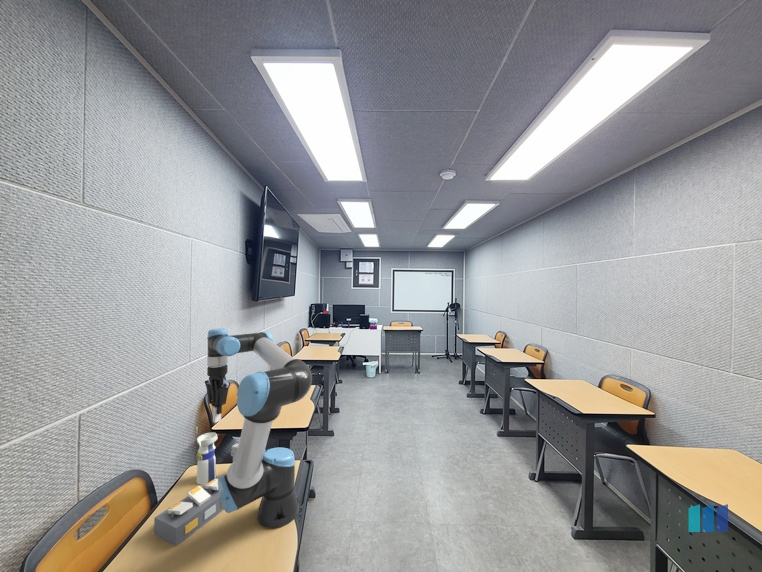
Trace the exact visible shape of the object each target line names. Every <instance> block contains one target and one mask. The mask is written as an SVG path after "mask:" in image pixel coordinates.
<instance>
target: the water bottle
mask: <svg viewBox="0 0 762 572" xmlns="http://www.w3.org/2000/svg"><path fill="white" fill-rule="evenodd" d="M198 431H199V429H198V426H196V427H195V433H196V434H198ZM217 440H218V434H217V433H216V432H212V431H211V432H205V433H203V434H201V435H199V436H198V437H197V438H196V442H197V444H196V445H198V446H199V447H198V450H197V454H196V459H197V462H196V463H197V465H196V466H197V467H196V468H197V469H196V484H197V485H206V484H207V483H209V482H210V481H212V480H214V479H215V478H217V470H216V469H217V467H216V464H217V463H216V459H217V458H216V455H215V449H216V445H215V442H216V441H217Z"/></svg>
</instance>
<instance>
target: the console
mask: <svg viewBox="0 0 762 572" xmlns="http://www.w3.org/2000/svg"><path fill="white" fill-rule="evenodd" d="M219 478H220V477H216V478H215V479H219ZM205 485H206V484H203V486H201V487H202V488H203V489H204V490H205V491H206V492H207V493H208V494H210V495H211V497H210V499H209V500H207V501H206V502H204V503H203V504H201V505H200V506H198V505H197V504H196V503H195V502H194V500H193V499H191V498H190V497H188V496H187V495H186V496H185V497H184V498H183V499H181V500H179V501H178V502H177V503H179V502H189V503H193V507H191V508H190V509H188V510H187V511H185V512H184V513H182V514H181V515H177V514H174V513H173V512H171V514H169V513H168V509H170V508H171V507H172V506H174V505H175V504H177V503H175V504H174V505H172V506H170V507H169V508H167V509H166V510H164V511H162V512H161V513H160V514H159V513H158V515H156V516H155V517H154V524H153V525H154V527H153V529H154V530H153V533H154V534H153V535H154V536H155V537H157V538H159V539H161V540H163V541H165V542H166V543H169V544H170V545H172V546H175V547H178V546H179V545H181V543H183V542H184V541H185V540H186V539H188V538H189V537H190V536H192V535H193V534H194V533H196V532H197V531H198V530H200V529H201V528H203V526H205V525H206V524H207V523H209V522H210V521H212V520H213V519H214V518H215V517H217V516H218V515H219V514H220V513H222V512H224V511H225V510H224V509H223V506H222V503H221V500H220V496H219V490H212V489H211V488H208V489H206V488H205Z"/></svg>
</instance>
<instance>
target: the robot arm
mask: <svg viewBox="0 0 762 572" xmlns="http://www.w3.org/2000/svg"><path fill="white" fill-rule="evenodd" d="M206 339H207V355H206V357H207V360H206V361H207V363H206V364H207V367H206V369H207V374H206V376H208V379H207V380H204V384H205V387H206V393H207V401H208V404H209V405H211V407H212V411H211V412H212V423H216V424H217V423H218V422H220V421H222V412H223V411H222V410H223V409H222V408H223V406H224V405H226V404H227V401H228V400H227V399H228V394H229V388H230V387H231V382H228V381H227V377H226V375H227V374H228V357H232V356H235V355H236V354H241V353H243V354H244V353H248V352H254V353H255V354H256V355H258V356H259V357H260V359H262V360H263V361H264V362H265V363H266V364H267V365H268V366H269V367H270V368H271V369H270V370H267V371H257V372H255V373H251V374H248V375H246V376H244V378H242V380H241V381H240V382H239V385H238V388H237V392H236V396H237V399H236V405H237V406H236V407H237V409H238V412H239V413H240V415H241V416H242V417H243V418H244V420H243V424H242V429H241V433H240V437H239V441H238V442H239V445H238V449H237V454H236V458H235V461H234V462H233V461H232V463H231V464H230V465H229V467H228V468H227V473H225V474H222V475H221V476H219V477H218V478H219V479H218V490H219V496H220V500H221V503H222V506H223V509H224V510H223V511H225V513H227V514H230V513H232V512H235V511H239V509H241V508H244V507H246V506H247V505H249V504H251V503H252V502H255V501H256V500H258V499H260V503H259V506H258V509H257V516H256V517H257V523H258V524H259V525H260V526H261V527H262V528H266V529H276V528H278V529H279V528H281V527H283V526H286V525H288V524H289V523H291V522H292V521H293V520H295V518H296V517H297V516H298V514H299V511H300V501H299V500H300V499H299V498H298V495H297V492H296V489H295V482H296V481H295V476H296V475H295V472H296V471H295V469H296V468H295V467H296V466H295V465H296V461H295V454H294V452H293V450H291V449H290V448H286V447H272V448H268V449H267V450H266V451H265V449H266V447H267V443H268V439H269V437H270V436H269V435H270V432H271V429H272V425H273V421H275V420H276V419H277V418H278V417H279V416H280V414H281V410H282V407H283V406H287V405H290V404H293V403H296V402H299V401H300V400H302V399H303V398H304V397H305V396H307V394H308V393H309V391H310V389H311V387H312V381H313V374H312V371H311V369H310V367H309V365H307V364H306V363H305V362H304V361H302V359H299V358H294V357H293V356H292V355H290V354H289V353H287V352H286V351H285V350H283V348H281V347H280V346H279V345H277V344H276V343H275V342H274V337H273V336H272V333H271V332H268V331H267V332H266V331H265V332H264V331H261V332H253V333H243V334H233V335H229V330H228V329H227V328H212V329H209V330H208V332H207V338H206ZM264 451H265V453H264ZM262 458H263V459H262Z"/></svg>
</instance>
